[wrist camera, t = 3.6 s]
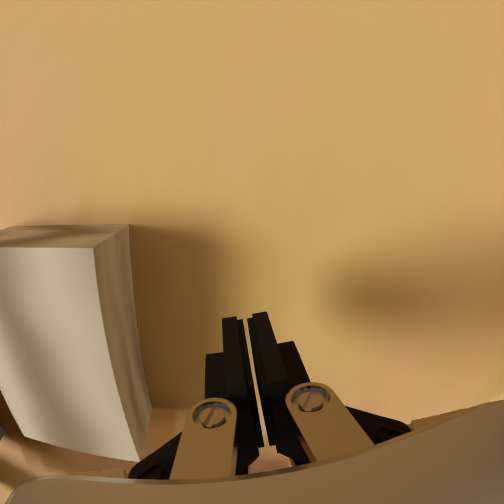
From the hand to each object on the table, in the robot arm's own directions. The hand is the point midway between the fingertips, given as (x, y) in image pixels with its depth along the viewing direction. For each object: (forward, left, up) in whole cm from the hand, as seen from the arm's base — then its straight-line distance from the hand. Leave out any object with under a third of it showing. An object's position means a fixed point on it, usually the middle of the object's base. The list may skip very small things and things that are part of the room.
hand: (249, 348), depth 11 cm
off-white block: (+10, +1, -5) cm, 11 cm away
